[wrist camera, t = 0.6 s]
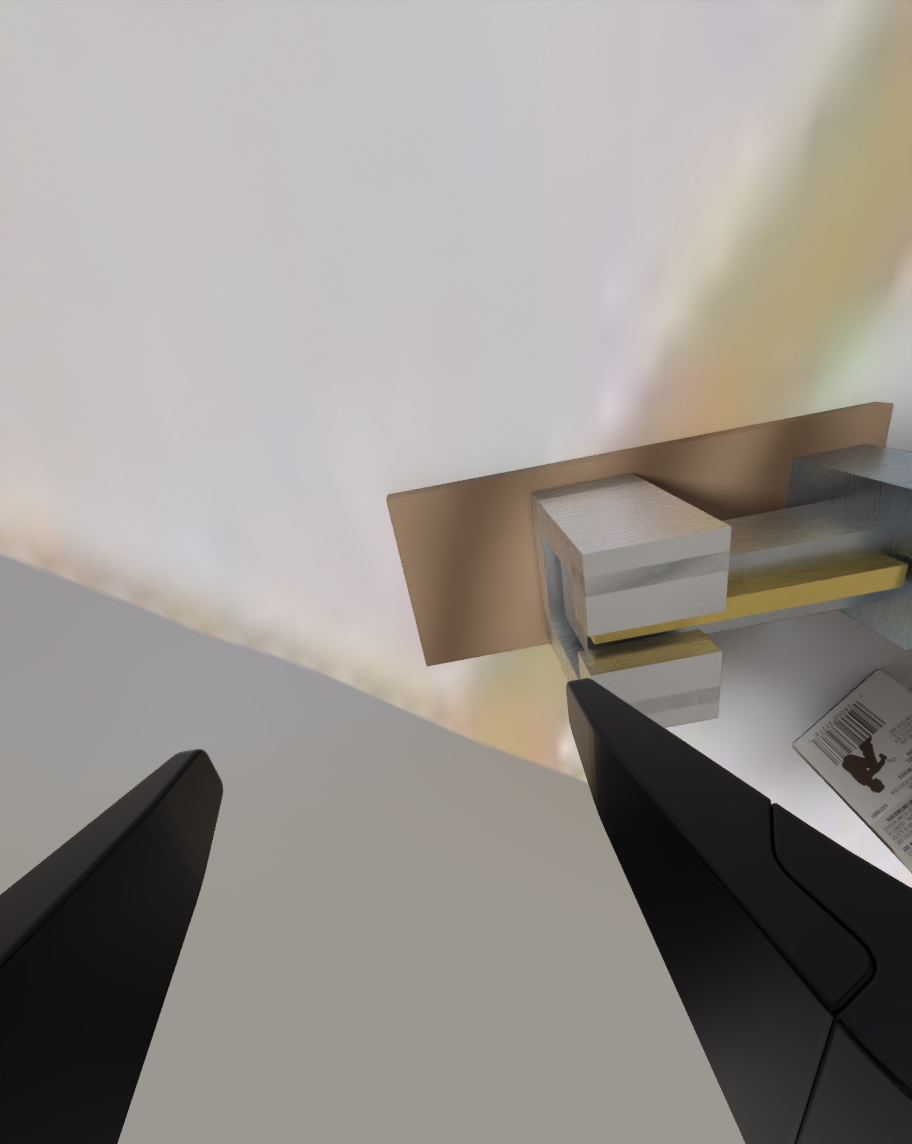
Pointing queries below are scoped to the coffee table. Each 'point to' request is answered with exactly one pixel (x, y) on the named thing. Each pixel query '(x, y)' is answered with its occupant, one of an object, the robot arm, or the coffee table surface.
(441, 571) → the board
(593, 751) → the robot arm
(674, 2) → the coffee table surface
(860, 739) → the coffee box
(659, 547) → the grey slotted block
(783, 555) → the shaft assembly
